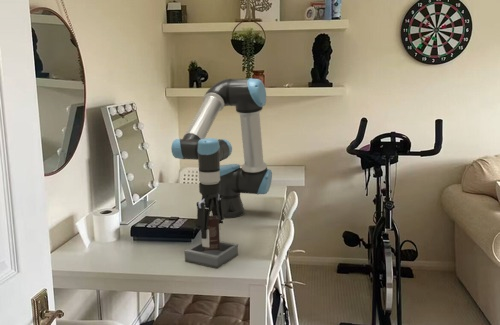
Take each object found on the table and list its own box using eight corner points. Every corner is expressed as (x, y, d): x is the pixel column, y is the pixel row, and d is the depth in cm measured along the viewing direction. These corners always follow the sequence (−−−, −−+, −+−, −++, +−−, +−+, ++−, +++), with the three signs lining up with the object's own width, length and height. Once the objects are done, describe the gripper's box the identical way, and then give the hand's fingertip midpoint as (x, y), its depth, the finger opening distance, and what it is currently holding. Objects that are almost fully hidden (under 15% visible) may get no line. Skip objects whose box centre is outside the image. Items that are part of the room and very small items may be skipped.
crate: (206, 248, 193) (206, 238, 192) (238, 255, 186) (238, 244, 185) (184, 261, 181) (184, 250, 180) (217, 268, 174) (217, 257, 173)
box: (219, 245, 185) (218, 214, 183) (220, 250, 181) (219, 218, 178) (203, 246, 184) (202, 215, 182) (203, 251, 180) (202, 219, 178)
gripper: (215, 175, 188) (217, 233, 192) (184, 187, 171) (187, 250, 176) (232, 177, 184) (234, 236, 189) (202, 189, 167) (204, 254, 172)
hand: (211, 243), depth 182 cm, fingers closed on box, 7 cm apart
